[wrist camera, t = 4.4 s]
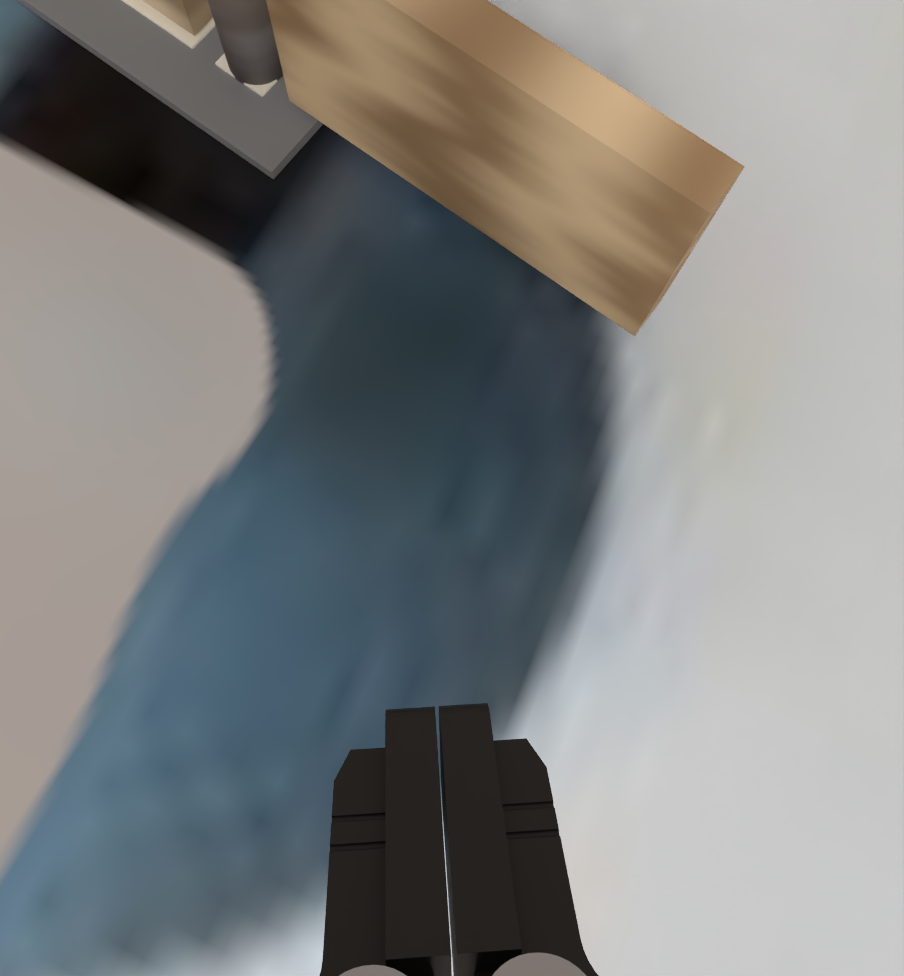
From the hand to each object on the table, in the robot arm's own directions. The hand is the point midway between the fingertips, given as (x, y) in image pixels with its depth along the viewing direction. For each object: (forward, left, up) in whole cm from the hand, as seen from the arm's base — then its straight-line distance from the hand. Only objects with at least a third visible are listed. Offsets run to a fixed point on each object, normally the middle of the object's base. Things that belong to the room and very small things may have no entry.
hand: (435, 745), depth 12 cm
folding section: (-3, +16, -11) cm, 19 cm away
